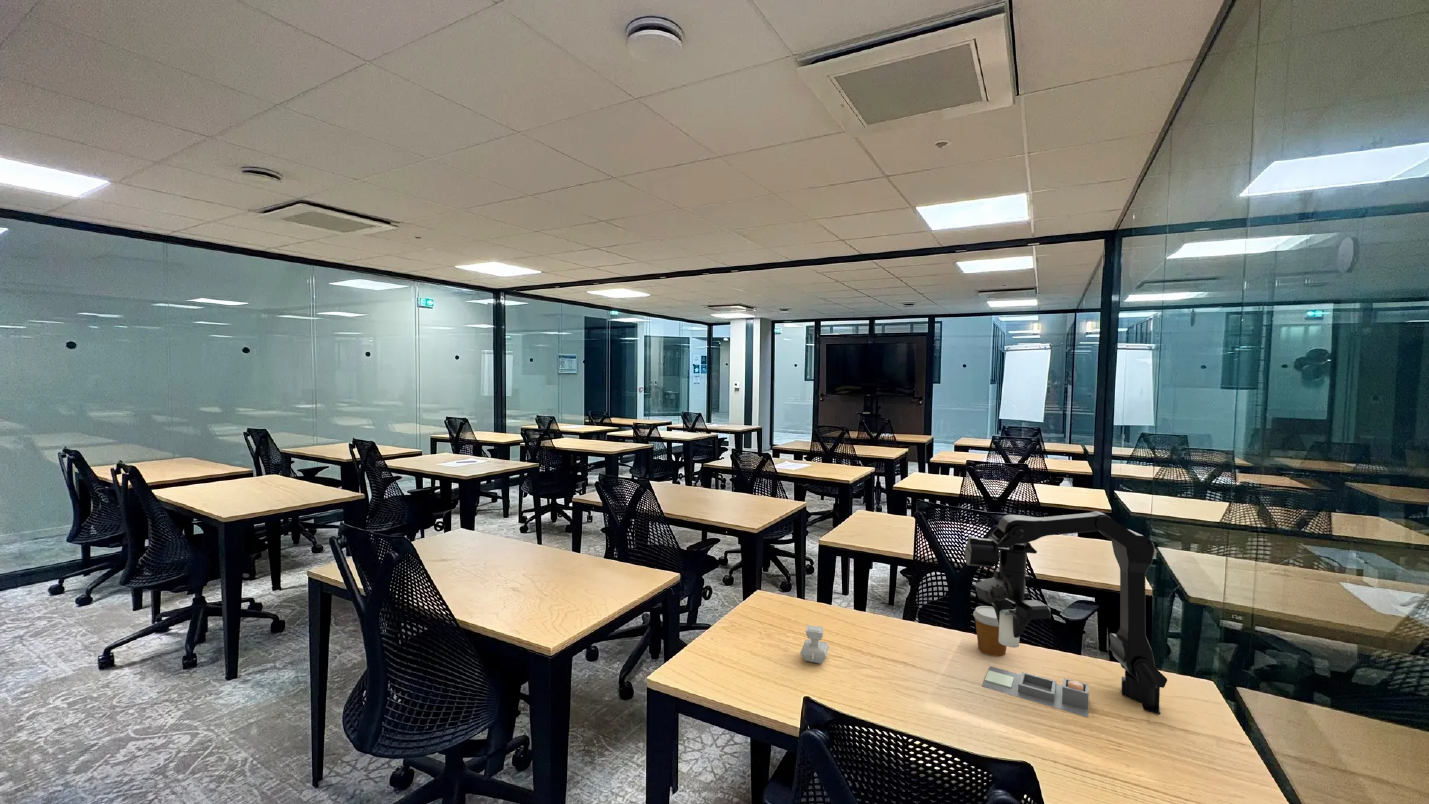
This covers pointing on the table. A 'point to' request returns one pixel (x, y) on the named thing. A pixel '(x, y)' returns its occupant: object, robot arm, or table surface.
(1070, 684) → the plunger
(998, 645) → the disposable coffee cup
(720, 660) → the table surface
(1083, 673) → the table surface
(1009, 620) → the cartridge
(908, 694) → the table surface
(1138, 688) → the robot arm
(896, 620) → the table surface
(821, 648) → the stamp
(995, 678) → the housing
